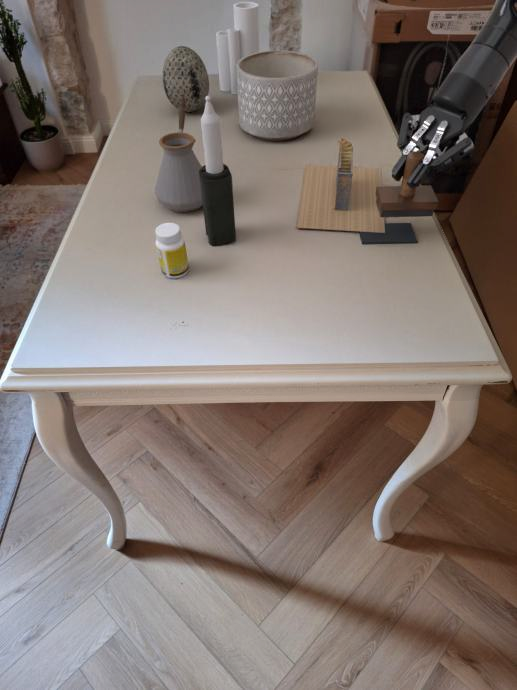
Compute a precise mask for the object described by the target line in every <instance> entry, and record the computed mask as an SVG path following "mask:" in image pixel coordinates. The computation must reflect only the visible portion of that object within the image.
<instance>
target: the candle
mask: <svg viewBox="0 0 517 690" xmlns="http://www.w3.org/2000/svg"><path fill="white" fill-rule="evenodd" d="M205 100H206V101H205V105H204V111H203V114H202V116H201V117H200V125H201V126H200V127H201V136H202V146H203V156H204V165H203V166H202V168H201V169H200V170H199V178H200V186H201V194H202V203H203V205H202V209H203V211H202V212H203V218H204V226H205V227H204V228H205V235H206V236H207V240H208V245H210V246H212V247H219V246H225V245H231V244H234V243H235V242H236V241H237V234H236V233H237V232H236V231H237V230H236V218H235V204H234V189H233V188H234V187H233V175H232V172H231V171H230V168H229V166H228V165H227V164H226V163H224V158H223V156H224V155H223V145H222V133H221V132H222V131H221V120H220V119H221V118H220V117H219V115H218V114H217V113H216V111H215V109H214V106H213V104H212V97H211V96H210V95H208V96H206V98H205Z"/></svg>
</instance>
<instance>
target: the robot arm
mask: <svg viewBox="0 0 517 690" xmlns="http://www.w3.org/2000/svg"><path fill="white" fill-rule="evenodd" d="M516 6H517V0H495V3H494V5H493V7H492V9H491V11H490V13H489V15H488V17H487V19H486V21H485V22H484V24H483V25H482V27H481V28H480V30H479V31H478V33H477V34H476V35H475V37H474V38H473V40H472V41H471V43H470V44H469V46H468V47H467V49H466V50H465V51H464V52H463V54H462V55H461V56H460V57H459V58H458V60H457V61H456V62H455V64H454V65H453V67H452V68H451V69H450V72H449V73H448V74H447V75H446V77H445V78H444V80H443V81H442V83H441V85H440V86H439V87H438V89H437V91H436V92H435V93H434V95H433V96H432V97H431V101H430V103H429V105H428V106H427V107H426V108H425V109H424V110H422V111H421V112H420V114H411V112H405V113H404V114H403V116H402V120H401V125H400V129H399V134H398V138H397V143H396V146H397V148H398V149H399V151H400V152H401V155H400V157H399V159H398V160H397V162H396V163H395V164H394V166H393V168H392V170H391V173H392V174H391V178H392V179H393V180H394V181H396V182H400V181H402V178H403V173H404V169H405V164H406V159H407V155H408V153H409V152H413V151H416V152H420V153H422V152H424V151H425V150H426V148H428V150H427V151H426V154H425V155H424V158H423V162H422V163H419V165H418V166H417V168H416V169H415V171H414V172H413V173H412V175H411V176H410V178H409V179H408V181H407V185H408V186H409V187H410V188H412V189H414V188H415V187H418V186H421V185H422V183H423V182H424V180H425V179H426V177H427V176H428V175H429V173H430V172H431V171H433V170H437V171H438V172H444V171H445V170H447V169H448V168H450V167H451V166H453V165H454V164H455V163H457V162H459V160H461V159H463V158H464V157H466V156H467V155H468V154H470V153H471V152H473V151H474V149H475V145H474V142H473V140H472V139H471V137H469V136H468V135H467V134H468V129H469V127H470V125H472V124H473V123H474V121H475V120H476V118H477V117H478V116H479V114H480V113H481V111H482V110H483V108H484V107H485V106H486V104H487V103H488V102H489V100H490V98H491V97H492V96H493V95H494V94H495V92H496V90H497V89H498V88H499V86H500V84H501V82H502V80H503V79H504V77H505V75H506V73H507V72H508V70H509V68H510V67H511V66H512V65H513V63H514V62H515V61H516V59H517V8H516ZM417 126H418V130H417V131H416V129H417ZM414 131H416V132H415V133H414V134H413V132H414ZM453 144H454V145H453ZM451 145H453V146H452V147H450V148H449V149H447V148H448V147H449V146H451ZM446 149H447V150H446Z"/></svg>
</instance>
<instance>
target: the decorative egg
mask: <svg viewBox="0 0 517 690" xmlns="http://www.w3.org/2000/svg"><path fill="white" fill-rule="evenodd" d="M208 73H209V72H208V69H207V67H206V65H205V62H204V61H203V59H202V58H201V56H200V55H199V53H197V52H196V51H195V50H194V49H192V48H190V47H188V46H186V45H185V46H184V45H180V46H177V47H174V48H172V49H171V50H170V52H169V53H168V54H167V55H166V58H165V60H164V63H163V67H162V86H163V90H164V94H165V96H166V97H167V98H166V99H168V101H169V102H170V104H171V105H172V106H174V108H176V109H177V110H179V111H180V106H179V104H180V103H181V99H179V98H181V97H182V96H184V97H186V98H188V99H189V100H190V101H189V100H188V99H186V98H185V102H184V104H186V103H188V102H189V103H188V104H186V106H185V108H184V110H185V113H186V112H187V113H192V112H195V111H197V110H199V109H200V108H202V107H203V106H204V104H206V100H205V98H206V96H209V93H210V79H209V74H208ZM178 100H179V102H180V103H179V102H178Z"/></svg>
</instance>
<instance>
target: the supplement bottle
mask: <svg viewBox="0 0 517 690" xmlns="http://www.w3.org/2000/svg"><path fill="white" fill-rule="evenodd" d="M154 232H155V238H156V239H155V248H156V253H157V257H158V262H159V266H160V270H161V273H162V275H163V276H164V277H166V278H168V279H181V278H182V277H184V276H186V275H187V274H188V273H189V270H190V265H189V258H188V253H187V246H186V241H185V237H184V236H183V235H182V231H181V227H180V225H178V224H177V223H175V222H164V223H161V224H160V225H158V226H157V227H156V228H155V231H154Z"/></svg>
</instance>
